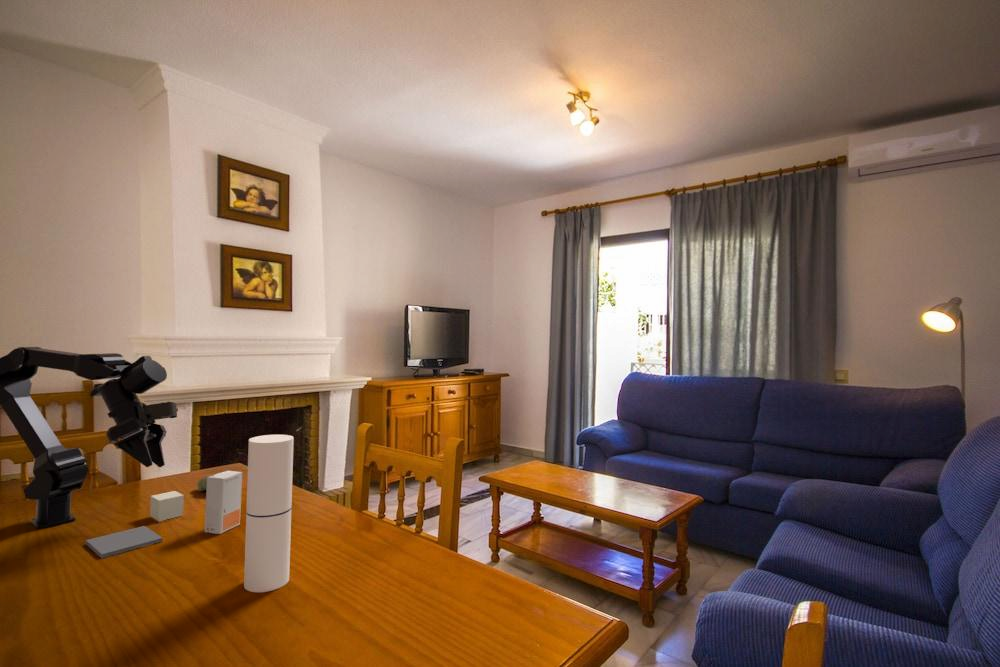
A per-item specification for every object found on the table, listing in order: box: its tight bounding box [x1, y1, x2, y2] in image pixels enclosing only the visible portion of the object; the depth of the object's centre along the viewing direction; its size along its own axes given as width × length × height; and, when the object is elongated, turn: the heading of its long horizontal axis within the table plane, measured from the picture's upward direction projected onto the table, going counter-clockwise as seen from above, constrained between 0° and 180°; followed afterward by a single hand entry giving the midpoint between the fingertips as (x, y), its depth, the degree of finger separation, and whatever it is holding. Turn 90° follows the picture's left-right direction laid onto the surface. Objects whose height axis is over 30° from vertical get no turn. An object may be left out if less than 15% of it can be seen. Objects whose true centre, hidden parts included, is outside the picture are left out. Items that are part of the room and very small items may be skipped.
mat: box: [85, 525, 163, 559], centre depth 100 cm, size 10×10×1 cm
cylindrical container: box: [243, 434, 295, 593], centre depth 86 cm, size 7×7×25 cm
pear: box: [197, 473, 216, 492], centre depth 133 cm, size 6×5×10 cm
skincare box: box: [204, 470, 243, 535], centre depth 109 cm, size 6×4×12 cm
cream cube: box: [149, 490, 185, 522], centre depth 115 cm, size 5×5×5 cm
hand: (156, 466), depth 108 cm, fingers open, 9 cm apart
